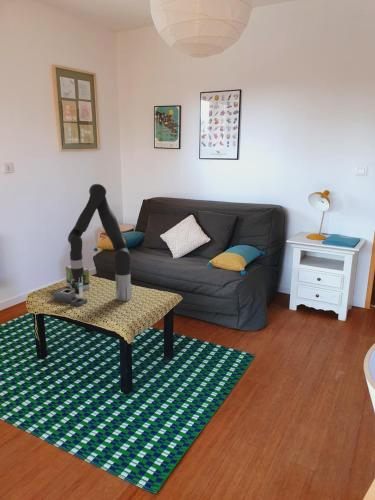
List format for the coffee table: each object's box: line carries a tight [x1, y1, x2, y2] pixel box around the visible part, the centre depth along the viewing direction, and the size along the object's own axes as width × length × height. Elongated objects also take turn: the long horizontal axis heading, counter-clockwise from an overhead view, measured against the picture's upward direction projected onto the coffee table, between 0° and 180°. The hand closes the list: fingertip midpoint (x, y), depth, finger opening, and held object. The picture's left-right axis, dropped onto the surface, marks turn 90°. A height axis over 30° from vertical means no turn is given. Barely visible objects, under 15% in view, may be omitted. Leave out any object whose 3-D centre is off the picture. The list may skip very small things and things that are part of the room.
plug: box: [75, 283, 84, 298], centre depth 237 cm, size 3×3×9 cm
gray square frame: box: [70, 297, 88, 307], centre depth 240 cm, size 7×7×2 cm
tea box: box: [65, 265, 90, 292], centre depth 264 cm, size 15×10×15 cm
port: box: [52, 287, 83, 304], centre depth 246 cm, size 14×10×5 cm
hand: (79, 292), depth 238 cm, fingers closed on plug, 3 cm apart
